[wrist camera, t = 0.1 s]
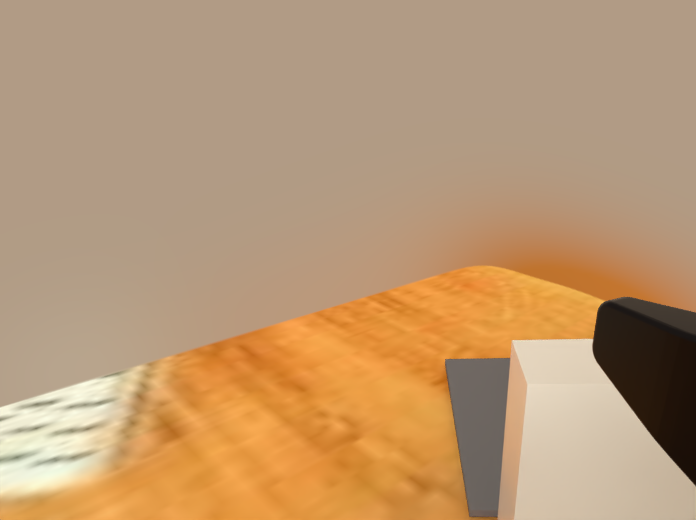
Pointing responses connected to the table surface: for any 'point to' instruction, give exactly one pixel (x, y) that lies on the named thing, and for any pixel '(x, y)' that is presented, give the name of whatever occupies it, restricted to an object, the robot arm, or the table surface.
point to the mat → (480, 427)
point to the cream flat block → (580, 444)
